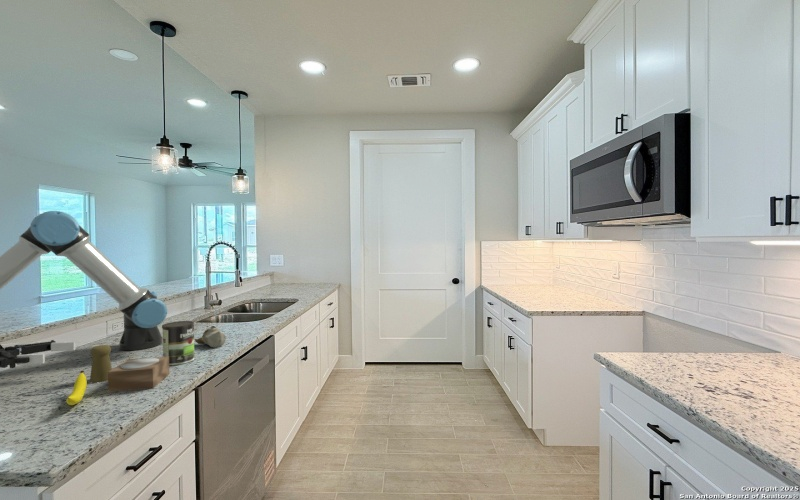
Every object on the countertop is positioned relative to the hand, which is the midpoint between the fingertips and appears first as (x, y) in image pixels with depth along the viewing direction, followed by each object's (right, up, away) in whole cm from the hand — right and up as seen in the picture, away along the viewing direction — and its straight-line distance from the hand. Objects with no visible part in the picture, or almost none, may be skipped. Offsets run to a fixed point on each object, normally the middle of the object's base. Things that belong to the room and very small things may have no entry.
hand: (60, 351), depth 115 cm
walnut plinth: (+26, -10, 0) cm, 28 cm away
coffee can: (+26, -9, +20) cm, 34 cm away
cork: (+11, -10, +3) cm, 15 cm away
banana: (+18, -10, -14) cm, 25 cm away
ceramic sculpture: (+28, -9, +41) cm, 50 cm away
